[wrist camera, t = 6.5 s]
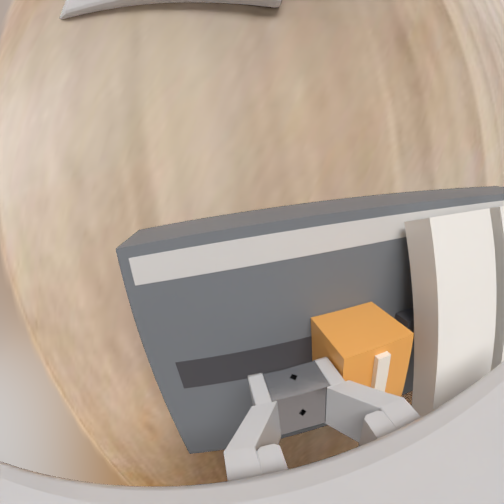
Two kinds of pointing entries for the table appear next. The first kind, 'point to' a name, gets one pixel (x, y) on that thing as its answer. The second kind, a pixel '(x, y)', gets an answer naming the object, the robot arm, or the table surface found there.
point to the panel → (267, 293)
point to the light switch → (83, 3)
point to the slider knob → (364, 346)
